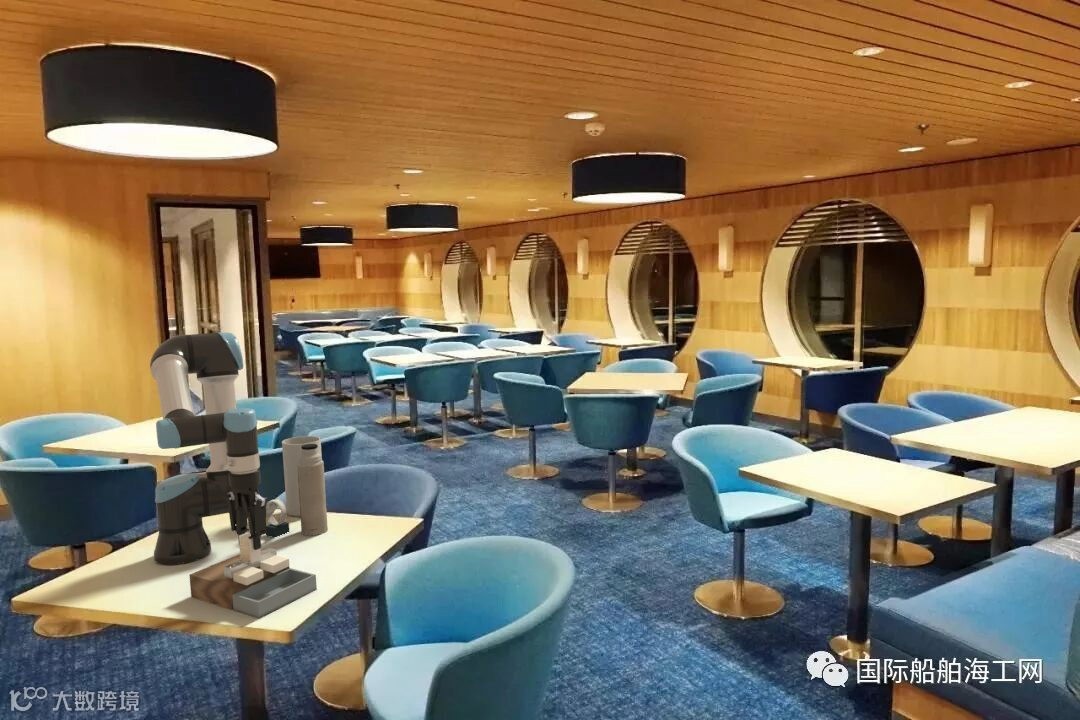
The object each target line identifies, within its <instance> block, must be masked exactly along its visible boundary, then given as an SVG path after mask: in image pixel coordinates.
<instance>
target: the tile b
mask: <svg viewBox="0 0 1080 720" xmlns="http://www.w3.org/2000/svg"><path fill="white" fill-rule="evenodd" d="M288 566H289V567H290V558H288V557H284V556H280V555H275V556H273V557H270V558H268V559H266V560H263V561H261V562H260V568H261V570H265V571H268V572H272V573H275V572H277V571H280V570H282V569H284V568H286V567H288Z"/></svg>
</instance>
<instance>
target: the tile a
mask: <svg viewBox="0 0 1080 720" xmlns="http://www.w3.org/2000/svg"><path fill="white" fill-rule="evenodd" d="M262 578H264V575H263V570H261V569H258V568H254V567H251V566H249V567H246V568H244V569H242V570H239V571H237V572H235V573H233V581H235V582H238V583H241V584H244V585H249V584H251V583H253V582H256V581H258V580H260V579H262Z"/></svg>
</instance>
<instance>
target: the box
mask: <svg viewBox="0 0 1080 720" xmlns="http://www.w3.org/2000/svg"><path fill="white" fill-rule="evenodd" d="M317 590H318V589H317V575H316V574H315V573H311V572H307V571H303V570H298V569H296V568H292V567H290V569H287V570H285V571H283V572H281V573H279V574H276V575H274V576H272V577H270V578H268V579H266V580H263V581H261V582H259V583H257V584H255V585H252V586H250V587H248V588H246V589H244V590H241V591H239V592H237V593H235V594H233V595H232V599H233V610H232V611H234V612H238V613H241V614H243V615H247V616H250V617H254V618H257V619H260V620H261V617H262V618H263V616H264V617H266V616H267V615H269V614H272V613H273V612H275V611H277V610H279V609H281V608H283V607H286V606H287V605H290V604H291V603H292V602H295V601H297V600H299V599H301V598H303V597H305V596H306V595H308V594H309V595H310V594H311V593H313V592H314V591H317Z"/></svg>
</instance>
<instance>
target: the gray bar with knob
mask: <svg viewBox="0 0 1080 720" xmlns="http://www.w3.org/2000/svg"><path fill="white" fill-rule="evenodd" d="M241 554H242V560H239V561H237V562H235V563H232V564H230V565H227V566H225V567H224V576H225V577H228V578H233V573H235V572H237V571H239V570H242V569H244V568H246V567H249V566H251V567H254V568H257V567H259V566H260V562H261V561H263V560H266V559H268V558H270V557H273V556H275V555H277V549H276V548H271V547H269V548H267V549H264V550H262V551H261V560H259V561H256V562H254V563H250V551H249V539H247V540H245V541H242V542H241ZM277 556H278V555H277Z"/></svg>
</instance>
